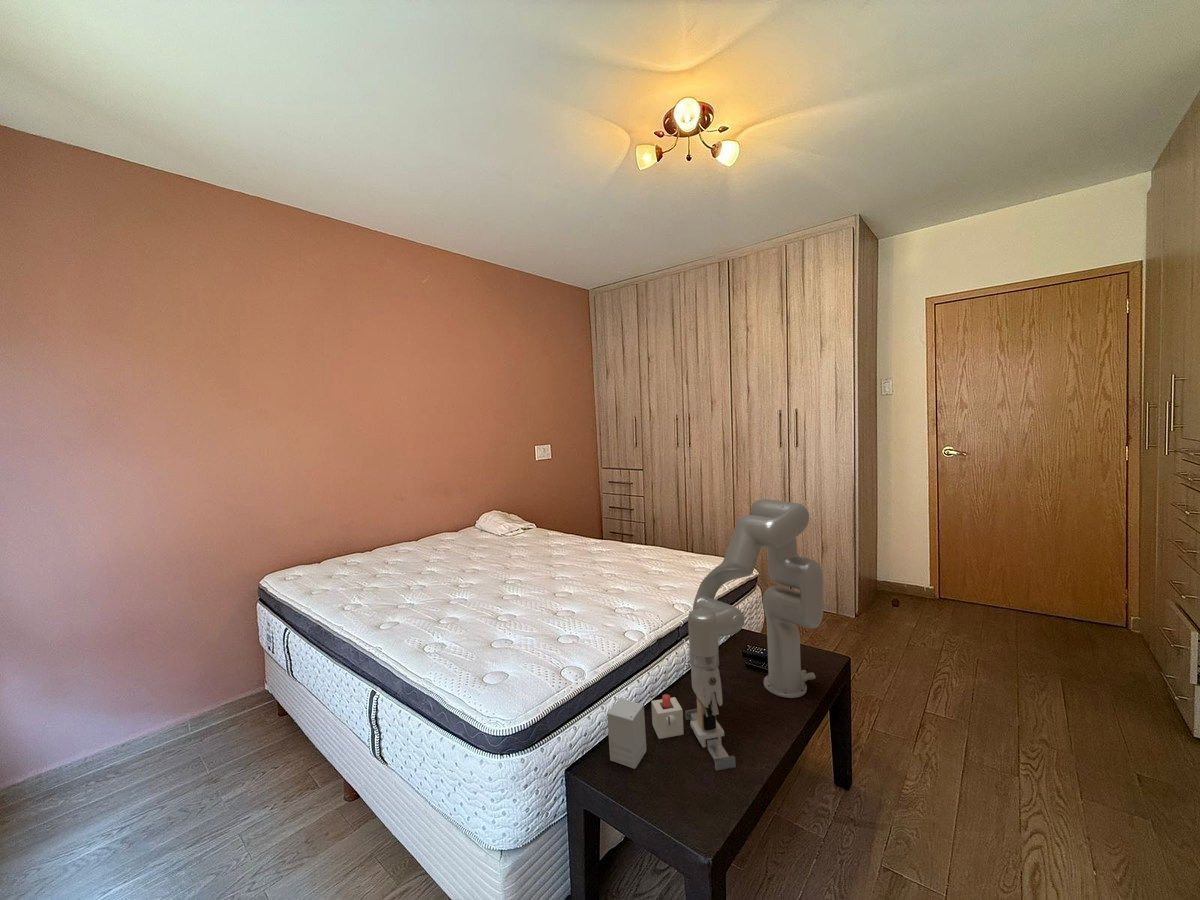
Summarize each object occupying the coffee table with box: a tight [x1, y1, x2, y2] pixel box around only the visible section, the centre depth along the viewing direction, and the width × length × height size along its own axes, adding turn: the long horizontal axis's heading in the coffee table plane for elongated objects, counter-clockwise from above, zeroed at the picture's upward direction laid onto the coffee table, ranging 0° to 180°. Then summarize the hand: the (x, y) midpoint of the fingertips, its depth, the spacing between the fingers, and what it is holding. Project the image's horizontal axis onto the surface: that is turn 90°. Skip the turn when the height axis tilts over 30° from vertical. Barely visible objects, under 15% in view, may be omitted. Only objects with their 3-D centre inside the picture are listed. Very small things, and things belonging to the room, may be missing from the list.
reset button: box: [661, 693, 671, 710], centre depth 127 cm, size 2×2×5 cm
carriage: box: [689, 698, 725, 748], centre depth 122 cm, size 7×6×10 cm
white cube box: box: [650, 696, 685, 740], centre depth 126 cm, size 7×7×7 cm
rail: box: [685, 708, 737, 772], centre depth 122 cm, size 5×21×2 cm, turn 10°
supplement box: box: [606, 697, 647, 770], centre depth 117 cm, size 7×7×13 cm
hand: (706, 723), depth 122 cm, fingers closed on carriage, 3 cm apart
